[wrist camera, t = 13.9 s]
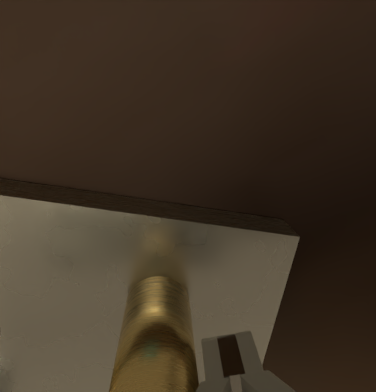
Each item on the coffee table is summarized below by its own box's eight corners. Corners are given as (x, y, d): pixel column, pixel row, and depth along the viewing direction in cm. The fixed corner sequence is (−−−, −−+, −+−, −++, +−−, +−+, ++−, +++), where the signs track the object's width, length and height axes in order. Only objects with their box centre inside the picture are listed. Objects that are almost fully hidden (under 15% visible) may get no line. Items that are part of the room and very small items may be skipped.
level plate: (-281, 137, 13) (-449, 153, 9) (283, 219, 15) (317, 255, 12) (-204, 459, 17) (-295, 548, 14) (211, 480, 20) (220, 560, 17)
